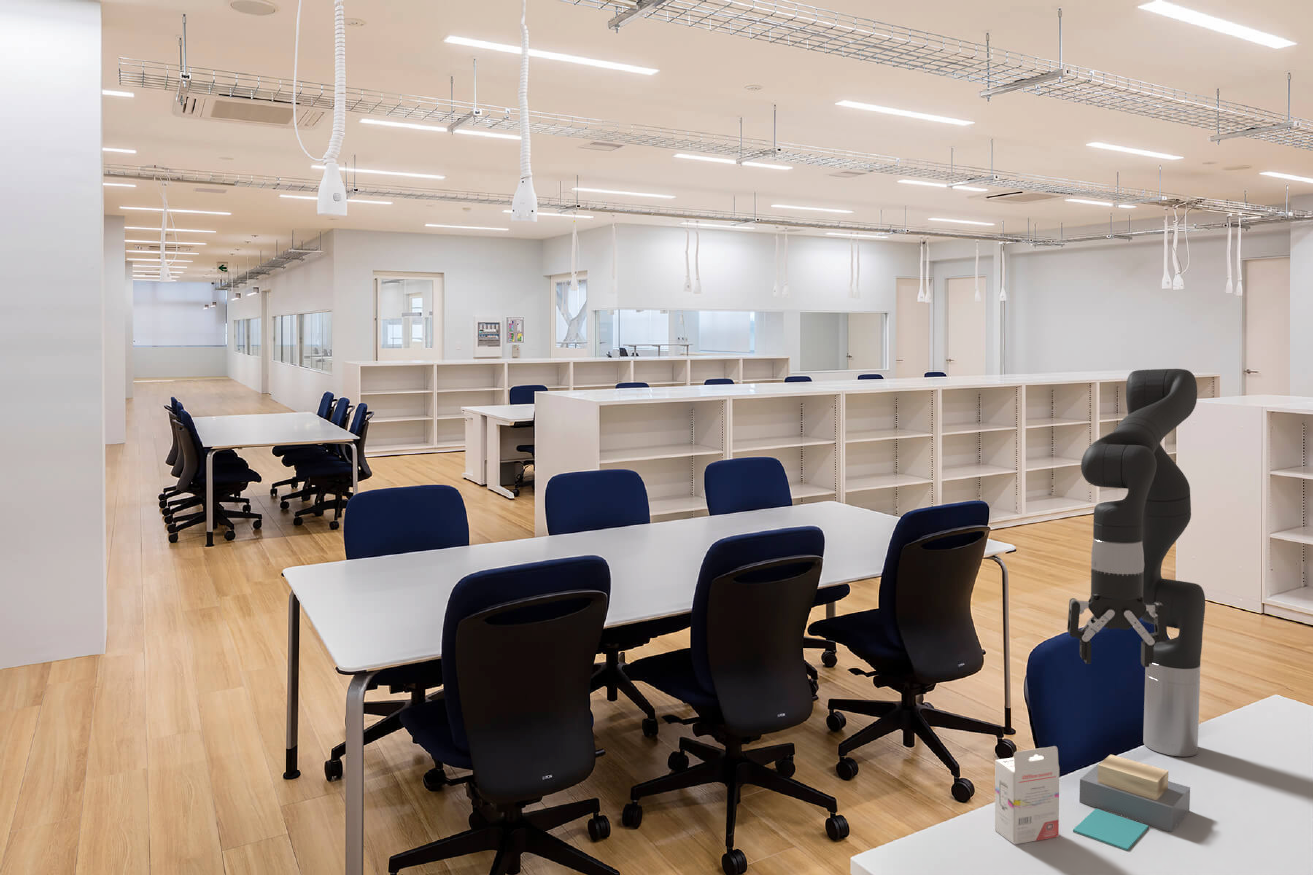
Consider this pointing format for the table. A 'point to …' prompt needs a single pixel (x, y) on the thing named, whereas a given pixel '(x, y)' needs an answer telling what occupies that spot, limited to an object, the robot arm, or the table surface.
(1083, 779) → the grey rectangular block
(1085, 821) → the teal rubber mat
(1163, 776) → the maple tile
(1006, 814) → the ink cartridge box
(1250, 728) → the table surface
